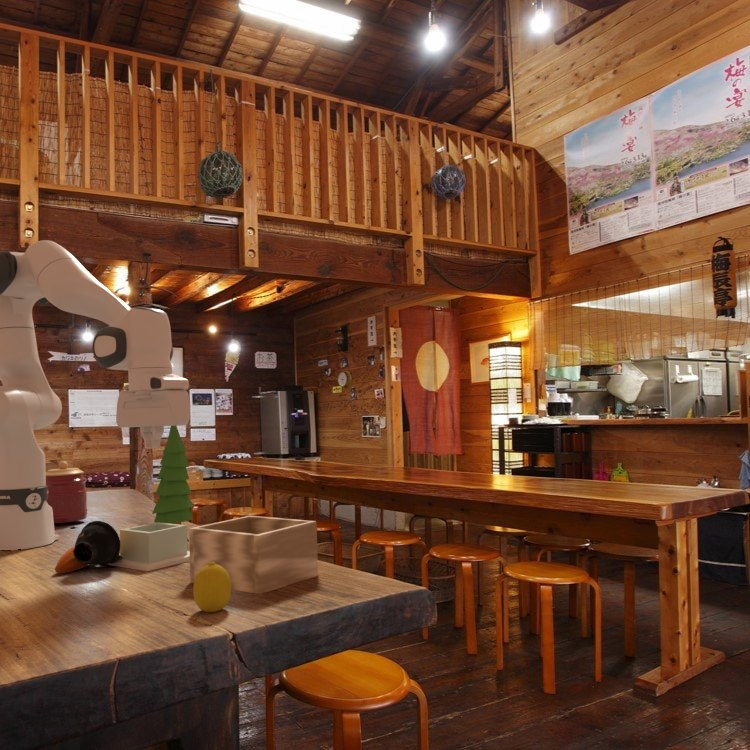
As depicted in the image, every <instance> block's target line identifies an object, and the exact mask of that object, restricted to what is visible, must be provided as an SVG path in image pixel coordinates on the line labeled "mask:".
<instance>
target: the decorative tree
mask: <svg viewBox="0 0 750 750" xmlns="http://www.w3.org/2000/svg"><path fill="white" fill-rule="evenodd" d="M169 427H170V428H169V433H168V437H167V441H166V444H165V446H164V450H163V453H162V454H163V455H162V457H161V461H160V462H159V464H160V465H161V467H160V470H159V473H158V476H157V480H160V481H159V484H158V485H157V488H156V491H155V495H157V496H158V498H157V501H156V504H155V505H154V508H153V510H152V512H151V514H152V515H153V514H156V515H155V518H154V520H153V521H154V522H153V523H157V522H159V523H169V524H179V525H183V524H182V523H185V522H187V521H192V520H194V516H193V514H192V512H191V509H190V508H194V507H195V506H194V504H193V502H192V500H191V499H190V497H189V495H190V494H192V493H193V491H191V488H190V485H189V484H188V481H187V480H190V476H189V473H188V470H187V468H189V467H190V465H189V462H188V458H187V455H186V451H187V448H186V446H185V445H184V442H183V440H182V438H181V436H180V433H179V430H178V426H169ZM188 494H189V495H188ZM187 542H189V537H187Z"/></svg>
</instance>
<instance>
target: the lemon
mask: <svg viewBox="0 0 750 750" xmlns="http://www.w3.org/2000/svg"><path fill="white" fill-rule="evenodd" d="M192 591H193V599H194V601H195V604H196V606H197V607H198V608H199V609H200V610H201V611H203V612H205V613H217V612H219V611H221V610H223V609H224V608H225V607H226V606H227V604H228V603H229V602H230V598H231V594H232V589H231V581H230V577H229V575H228V572H227V571H226V570H225V569H224V568H223V567H222V566H220V565H217V564H215V563H214V562H210V563H209V564H208V565H206V566H204V567H203V568H202V569H201V570H200V571H199V572H198V573H197V575H196V577H195V581H194V583H193V590H192Z"/></svg>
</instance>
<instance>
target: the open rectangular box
mask: <svg viewBox="0 0 750 750" xmlns="http://www.w3.org/2000/svg"><path fill="white" fill-rule="evenodd" d="M119 538H120V554H119V555H120V556H122V558H123V559H122V560H120V561H118V562H116V563H113V564H112V563H107V565H108V566H113V567H117V568H118V567H120V568H126V569H131V570H138V571H144V572H149V571H150V572H151V571H153V570H158V569H161V568H167V567H169V566H170V567H171V566H175V565H181V564H183V563H187V562H190V550H188V541H187V538H188V525H186V524H182V525H179V524H169V523H159V522H157V523H155V522H152V523H147V524H143V525H138V526H132V527H127V528H122V529H119Z"/></svg>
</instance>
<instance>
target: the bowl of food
mask: <svg viewBox="0 0 750 750" xmlns="http://www.w3.org/2000/svg"><path fill="white" fill-rule="evenodd" d="M74 546H75V548H74V550H73V553H74V556H75V559H76V560H77V561H78V562H80V563H86V564H89V565H90V566H92V565H93V566H99V567H104V568H105V567H108V566H107V563H112V564H113V563H116V562H118V561H120V560H122V559H123V558H122V556H120V535H119V533H118V532H117V530H116V529H115V528H114V527H113V526H112V525H110V524H109V523H107V522H105V521H101V520H93V521H90V522H88V523H87V524H85V525H84V527H82V529H81V531H80V532H79V534H78V536H77V538H76V541H75V543H74ZM85 548H86V549H87V551H88V552H89V554H90V555H92V557H91V556H89V555H88V554H87V553H86V551H85ZM82 551H84V553H85V554H83V552H82ZM89 565H88V566H89Z"/></svg>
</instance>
